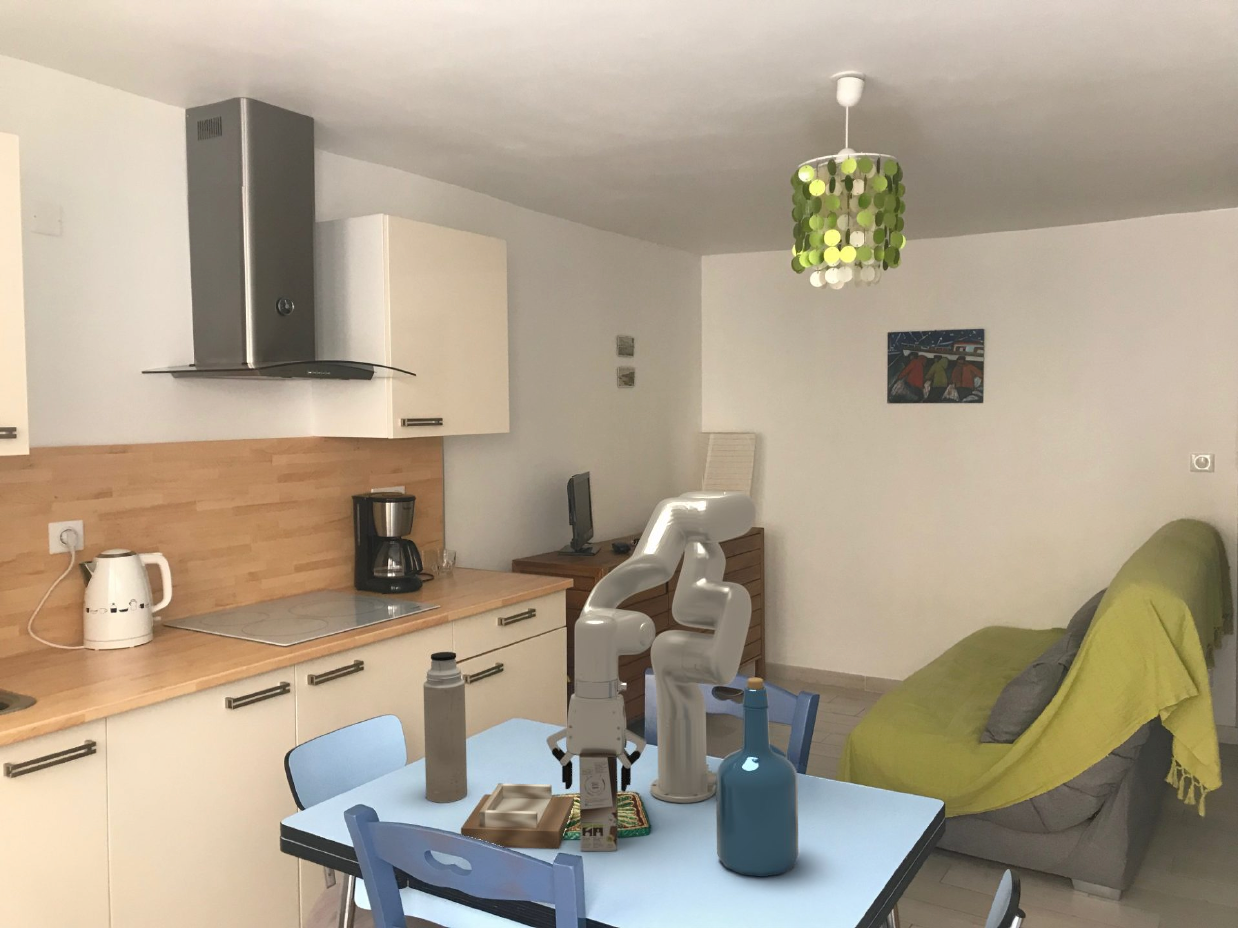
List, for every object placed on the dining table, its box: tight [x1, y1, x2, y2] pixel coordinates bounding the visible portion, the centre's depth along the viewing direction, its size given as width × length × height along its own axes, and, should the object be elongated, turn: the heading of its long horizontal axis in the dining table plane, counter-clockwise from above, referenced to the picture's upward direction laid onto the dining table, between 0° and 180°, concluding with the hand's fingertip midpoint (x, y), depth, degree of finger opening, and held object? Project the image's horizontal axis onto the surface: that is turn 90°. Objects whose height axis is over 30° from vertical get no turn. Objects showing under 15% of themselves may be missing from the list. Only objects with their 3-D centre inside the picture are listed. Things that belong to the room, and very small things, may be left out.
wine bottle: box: [715, 677, 799, 877], centre depth 160 cm, size 14×13×30 cm
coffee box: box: [578, 753, 619, 852], centre depth 169 cm, size 9×6×16 cm
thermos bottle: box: [423, 651, 468, 804], centre depth 192 cm, size 8×8×28 cm
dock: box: [460, 783, 575, 850], centre depth 175 cm, size 17×16×6 cm
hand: (596, 787), depth 168 cm, fingers open, 9 cm apart
